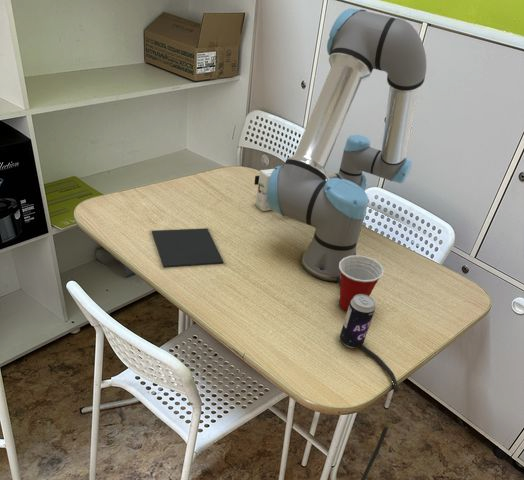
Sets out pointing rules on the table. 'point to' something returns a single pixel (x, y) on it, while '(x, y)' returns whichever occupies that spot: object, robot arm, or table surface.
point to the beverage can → (357, 320)
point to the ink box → (263, 190)
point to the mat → (186, 247)
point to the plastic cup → (358, 277)
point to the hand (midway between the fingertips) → (263, 189)
